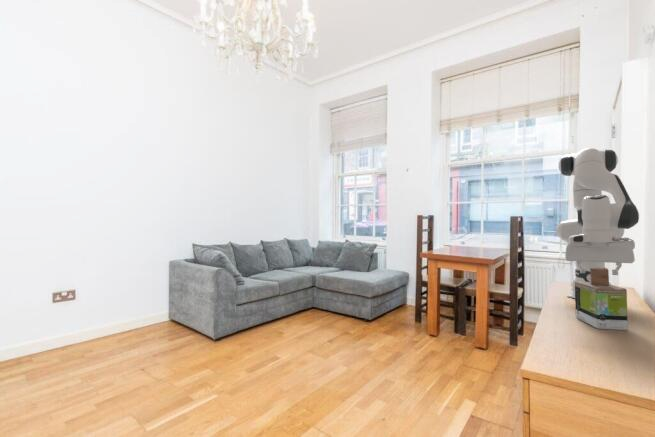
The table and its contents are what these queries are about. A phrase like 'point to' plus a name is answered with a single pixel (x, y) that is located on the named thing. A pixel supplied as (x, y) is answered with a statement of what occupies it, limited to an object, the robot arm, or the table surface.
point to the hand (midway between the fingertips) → (598, 273)
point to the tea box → (601, 305)
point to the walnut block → (599, 276)
